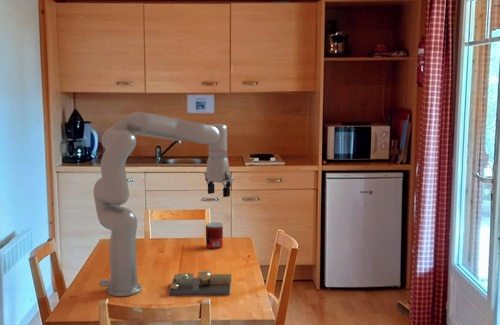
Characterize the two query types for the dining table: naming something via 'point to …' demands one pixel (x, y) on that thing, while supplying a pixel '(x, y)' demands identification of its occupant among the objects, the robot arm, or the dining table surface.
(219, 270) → the dining table surface
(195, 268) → the dining table surface
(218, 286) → the plate
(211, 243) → the canned food
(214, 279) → the lever handle
